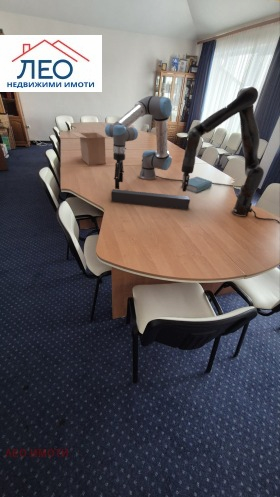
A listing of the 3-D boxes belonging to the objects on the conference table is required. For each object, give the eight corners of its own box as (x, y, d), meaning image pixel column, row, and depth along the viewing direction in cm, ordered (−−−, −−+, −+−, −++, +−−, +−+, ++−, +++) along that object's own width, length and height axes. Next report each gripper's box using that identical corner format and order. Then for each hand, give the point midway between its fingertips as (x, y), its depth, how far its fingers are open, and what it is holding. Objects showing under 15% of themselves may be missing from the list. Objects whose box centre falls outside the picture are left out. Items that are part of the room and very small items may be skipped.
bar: (111, 201, 159) (111, 191, 154) (112, 199, 163) (112, 189, 158) (188, 209, 156) (190, 199, 151) (187, 206, 160) (189, 196, 155)
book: (195, 181, 203) (197, 176, 200) (211, 187, 194) (212, 181, 191) (181, 187, 190) (182, 181, 187) (196, 193, 181) (197, 187, 178)
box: (116, 165, 229) (116, 136, 213) (83, 168, 214) (80, 137, 198) (102, 154, 259) (101, 128, 243) (71, 156, 244) (68, 129, 228)
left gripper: (121, 158, 130) (121, 192, 143) (128, 149, 150) (127, 179, 163) (109, 157, 131) (109, 191, 143) (117, 148, 151) (117, 178, 163)
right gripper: (195, 168, 134) (190, 193, 144) (193, 161, 146) (188, 185, 155) (183, 167, 135) (178, 192, 144) (182, 160, 146) (178, 184, 156)
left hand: (119, 185), depth 153 cm, fingers open, 13 cm apart
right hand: (183, 188), depth 150 cm, fingers open, 8 cm apart
